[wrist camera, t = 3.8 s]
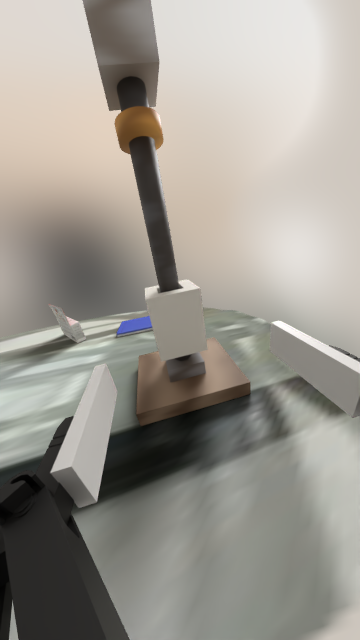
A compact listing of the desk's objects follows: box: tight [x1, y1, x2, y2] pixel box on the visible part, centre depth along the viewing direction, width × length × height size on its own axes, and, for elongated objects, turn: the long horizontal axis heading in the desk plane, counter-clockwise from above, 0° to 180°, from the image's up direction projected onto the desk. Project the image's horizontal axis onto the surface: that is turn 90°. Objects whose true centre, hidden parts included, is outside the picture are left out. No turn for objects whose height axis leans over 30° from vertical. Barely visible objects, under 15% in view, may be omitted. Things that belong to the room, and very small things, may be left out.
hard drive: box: [117, 316, 153, 337], centre depth 48 cm, size 2×8×12 cm
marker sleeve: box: [145, 279, 208, 362], centre depth 23 cm, size 6×6×8 cm
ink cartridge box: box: [49, 304, 86, 343], centre depth 47 cm, size 2×11×10 cm, turn 48°
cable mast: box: [83, 0, 250, 426], centre depth 20 cm, size 14×12×36 cm
